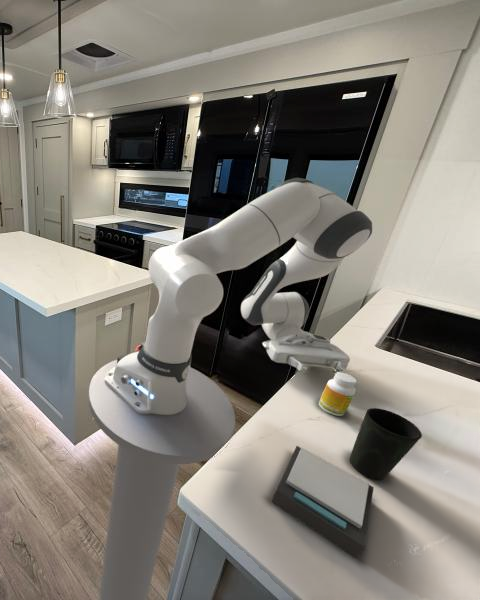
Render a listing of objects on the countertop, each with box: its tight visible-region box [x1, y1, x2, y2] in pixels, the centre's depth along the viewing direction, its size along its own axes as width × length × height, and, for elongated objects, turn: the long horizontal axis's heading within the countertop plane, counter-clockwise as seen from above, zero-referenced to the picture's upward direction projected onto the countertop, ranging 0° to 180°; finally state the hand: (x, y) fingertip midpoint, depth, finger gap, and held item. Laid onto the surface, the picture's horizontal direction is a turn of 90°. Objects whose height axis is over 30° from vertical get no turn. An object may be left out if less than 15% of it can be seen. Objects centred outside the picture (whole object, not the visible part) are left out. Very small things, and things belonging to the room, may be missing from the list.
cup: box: [348, 407, 423, 481], centre depth 60 cm, size 8×8×12 cm
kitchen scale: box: [270, 445, 374, 559], centre depth 55 cm, size 12×14×4 cm
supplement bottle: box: [318, 372, 357, 417], centre depth 76 cm, size 5×5×10 cm
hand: (322, 371), depth 82 cm, fingers open, 8 cm apart
